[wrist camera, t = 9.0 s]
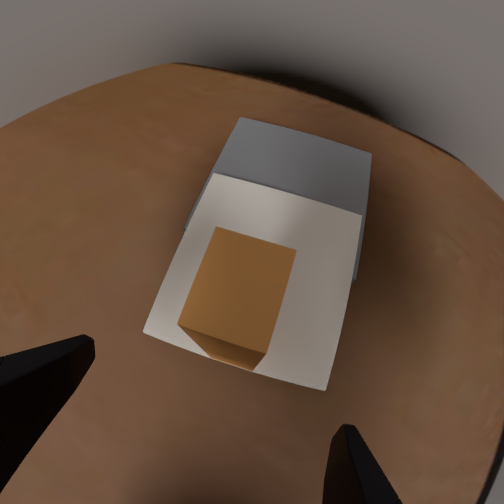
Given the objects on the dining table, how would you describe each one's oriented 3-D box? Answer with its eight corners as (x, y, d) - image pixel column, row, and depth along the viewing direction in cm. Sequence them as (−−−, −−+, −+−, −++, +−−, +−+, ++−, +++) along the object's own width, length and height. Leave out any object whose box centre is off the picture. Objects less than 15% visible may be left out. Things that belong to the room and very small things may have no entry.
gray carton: (344, 291, 22) (355, 279, 19) (188, 243, 23) (183, 228, 21) (363, 170, 27) (371, 153, 24) (240, 135, 28) (240, 117, 26)
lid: (323, 390, 16) (413, 388, 7) (145, 333, 17) (55, 272, 8) (359, 219, 21) (420, 113, 12) (213, 177, 22) (203, 57, 13)
